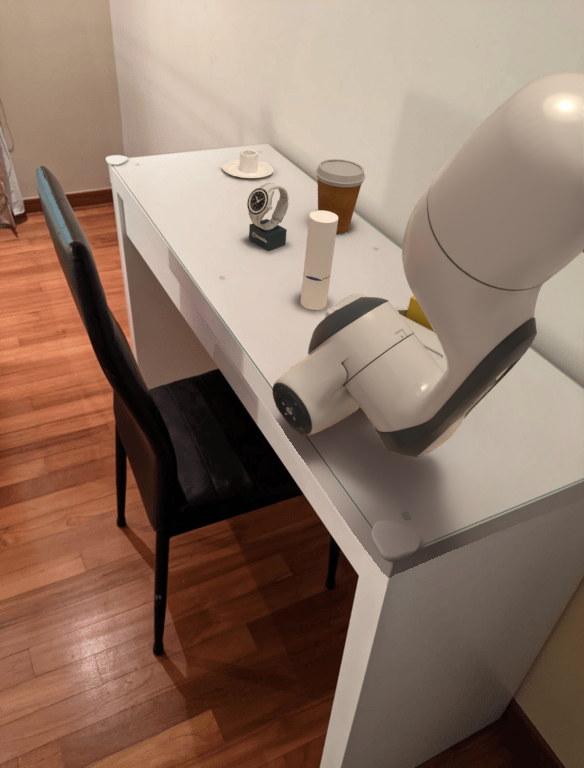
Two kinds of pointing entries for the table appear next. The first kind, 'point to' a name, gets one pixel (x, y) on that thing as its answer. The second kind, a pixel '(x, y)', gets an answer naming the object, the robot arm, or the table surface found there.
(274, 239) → the watch
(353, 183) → the disposable coffee cup
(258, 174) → the candle holder
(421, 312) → the sponge
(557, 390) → the table surface
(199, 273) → the table surface
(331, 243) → the tube
